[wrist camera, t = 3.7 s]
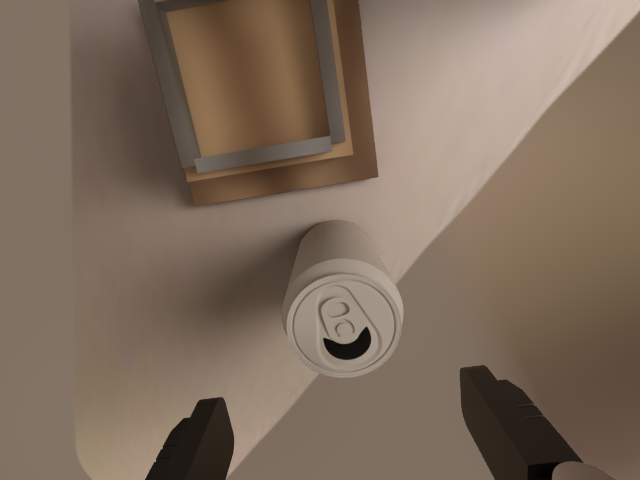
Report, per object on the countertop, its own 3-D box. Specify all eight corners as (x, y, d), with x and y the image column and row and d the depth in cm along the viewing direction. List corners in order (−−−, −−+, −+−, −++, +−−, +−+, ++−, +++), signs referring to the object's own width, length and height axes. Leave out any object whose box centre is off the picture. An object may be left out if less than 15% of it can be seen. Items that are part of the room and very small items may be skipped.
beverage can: (310, 299, 29) (301, 399, 17) (287, 230, 27) (260, 288, 16) (382, 279, 28) (422, 368, 17) (362, 207, 27) (392, 251, 15)
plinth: (351, -33, 23) (363, -123, 15) (375, 175, 26) (395, 185, 19) (152, 6, 23) (71, -62, 16) (201, 203, 27) (154, 223, 19)
